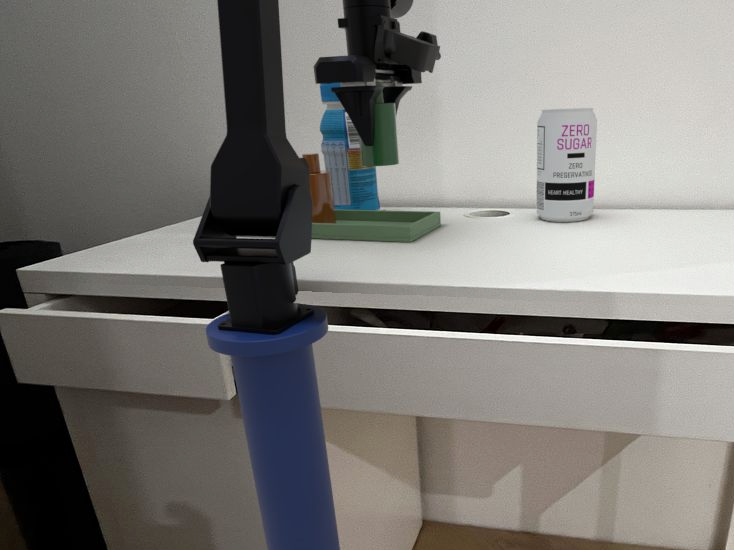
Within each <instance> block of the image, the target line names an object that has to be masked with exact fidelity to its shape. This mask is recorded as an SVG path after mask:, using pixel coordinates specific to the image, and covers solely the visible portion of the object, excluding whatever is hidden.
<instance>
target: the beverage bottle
mask: <svg viewBox="0 0 734 550" xmlns="http://www.w3.org/2000/svg"><path fill="white" fill-rule="evenodd" d="M331 87H341V85H340V83H331V84H319V91H320V99H321V102H322V105H326V109H325V110H324V112H323V114H322V117H321V120H320V125H319V132H320V133H321V135H322V140H321V143H320V150H321V153H322V155H323V161H324V171H330V172H331V178H332V187H333V196H334V205H335V209H341V210H381V204H380V198H379V190H378V189H379V188H378V177H377V166H362V165H361V155H360V144H359V134H358V132H357V130H356V128H355V127H354V125H353V123H352V121H351V119H350V118H349V116H348V114H347V112H346V111H345V109H344V107H343V106H342V104H341V103H340V101H339V99H338V98H337V96H336V94H335V93H334V92H331Z"/></svg>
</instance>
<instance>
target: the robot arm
mask: <svg viewBox="0 0 734 550" xmlns="http://www.w3.org/2000/svg"><path fill="white" fill-rule="evenodd" d="M414 2H415V1H414V0H342V10H343V17H342V18H341V17H339V18H337V26H338V29H342V30H344V32H345V41H346V51H347V52H346V53H347V55H334V56H319V57H318V59H317V60H316V62H315V64H314V66H313V74H314V82H315V84H316V85H320V84H331V83H340V85H341V87H331V92H334V93H335V94H336V96H337V98H338V99H339V101H340V103H341V104H342V106H343V107H344V109H345V111H346V112H347V114H348V116H349V118H350V119H351V121H352V123H353V125H354V127H355V128H356V130H357V132H358V134H359V136H360V138H361V140H362V141H363V143H364V145H365V146H373V145H374V129H375V100H376V98H377V97H378V96H379V94H380V93H381V91H382V90H383V96H384V103H395V109H396V116H397V115H398V109H399V106H400V102H401V100H402V99H403V97H404V96H405V95H406V94H407V93H408V92H409V91H410V92H411V90H412V89H413V85H415V84H416V85H417V84H419V85H420V84H423V82H422V81H423V80H422V79H423V78H422V73H425V72H429V73H430V74H433V72H434V68H435V65H436V62H437V61H440V60H441V58H442V55H441V52H440V50H441V45H438V37H437V35H435V34H433V33H430V32H427V31H420V32H419V33H418V35H417V36H412V35H410V34H409V35H408V34H405V33H403V32H401V24H400V22H399V21H398V19H400V18H403V17H404V16H405V15H406V14H408V12H409V11H410V10H411V8H412V6H413V4H414ZM216 3H217V13H218V14H217V17H218V31H219V42H220V44H219V45H220V56H221V57H220V58H221V69H222V84H223V85H222V86H223V97H224V108H225V109H224V110H225V124H226V135H225V137H224V139H223V141H222V142H221V145H220V146H219V149H218V150H217V152H216V154H215V157H214V158H213V160H212V162H211V164H210V173H209V175H210V176H209V177H210V178H209V197H208V200H207V202H206V204H205V208H204V210H203V213H202V215H201V218H200V221H199V223H198V226H197V228H196V231H195V234H194V237H193V240H192V245H193V247H194V249H195V251H196V253H197V256H198V258H199V260H200V261H201V263H209V262H223V263H221V264H220V265H219V267H220V271H221V276H222V283H223V287H224V292H225V298H226V303H227V309H228V313H229V314H230V318H229V319H227V320H225V321H223V322H221V323H219V324H218V325H217V326H218V330H224V331H235V332H246V333H256V334H267V335H278V334H281V333H282V332H284V331H286V330H287V329H289V328H291V327H292V326H294V325H296V324H297V323H299V322H301V321H302V320H304V319H306V318H307V317H309V316H311V315H312V314H314V309H313V308H305V307H299V305H300V304H301V303H300V302H296V301H297V295H298V293H299V286H298V279H297V271H296V266H295V265H294V262H295V261H298V260H299V259H302V258H303V257H305V256H307V255H309V254H311V253H312V238H311V237H312V213H313V204H312V197H311V193H310V166H309V164H308V162H307V160H306V159H305V158H302V157H299V155H298V153H297V152H296V150H295V149H294V147H293V145H291V142H290V141H289V139H288V138H287V137H288V136H287V130H286V113H285V93H284V77H283V57H282V55H283V54H282V40H281V27H280V26H281V21H280V4H279V3H280V2H279V0H216ZM375 82H382V83H383V86H376V83H375ZM339 101H338V102H339Z"/></svg>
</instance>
